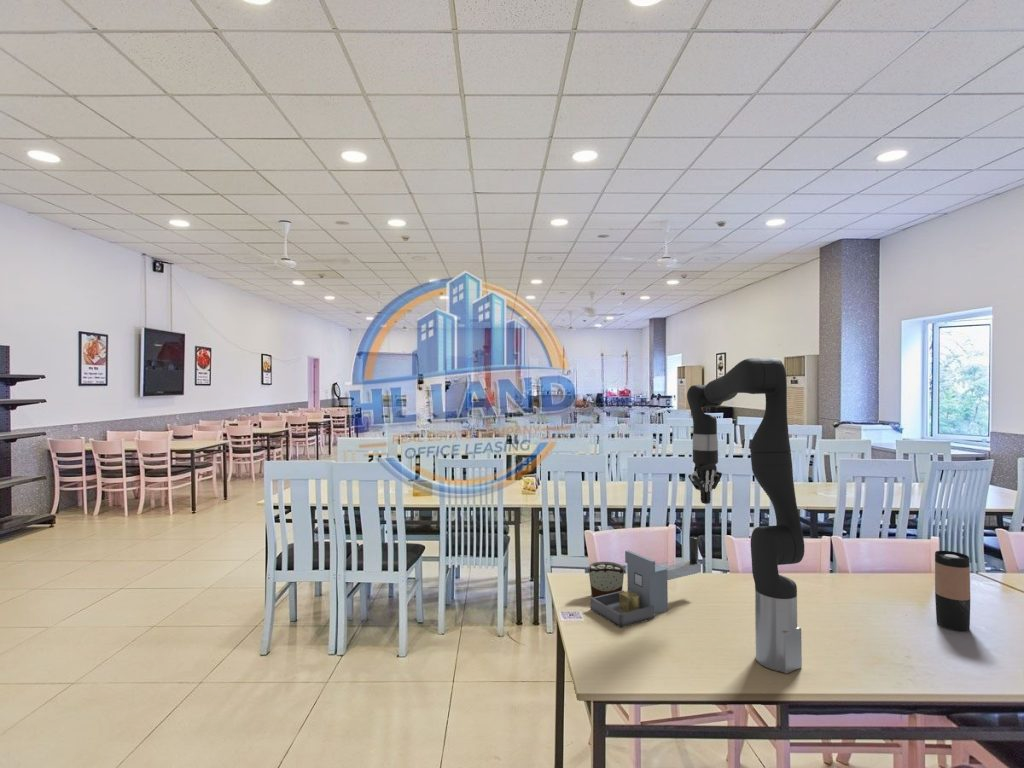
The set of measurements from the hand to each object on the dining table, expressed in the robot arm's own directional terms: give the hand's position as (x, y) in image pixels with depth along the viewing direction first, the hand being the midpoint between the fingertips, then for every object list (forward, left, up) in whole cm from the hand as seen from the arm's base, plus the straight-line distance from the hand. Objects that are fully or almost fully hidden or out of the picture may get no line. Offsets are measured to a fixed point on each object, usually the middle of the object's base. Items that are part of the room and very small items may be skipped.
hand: (705, 503), depth 166 cm
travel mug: (-45, -47, -31) cm, 72 cm away
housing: (+6, +19, -31) cm, 37 cm away
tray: (+6, +29, -31) cm, 43 cm away
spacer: (+6, +24, -28) cm, 37 cm away
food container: (+20, +24, -31) cm, 44 cm away
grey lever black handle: (+6, +10, -24) cm, 26 cm away
